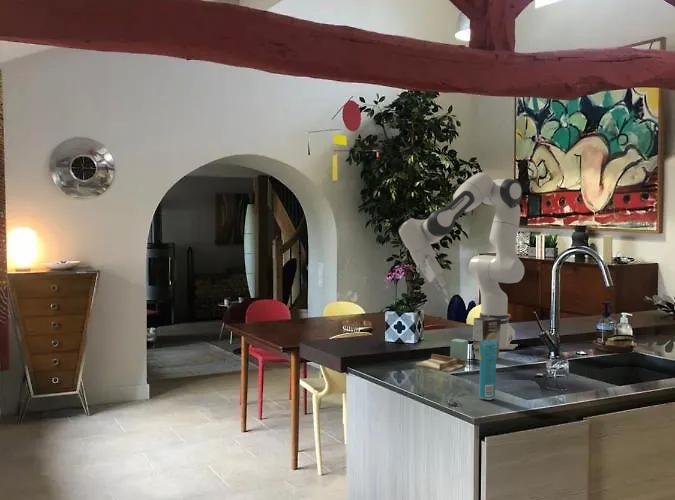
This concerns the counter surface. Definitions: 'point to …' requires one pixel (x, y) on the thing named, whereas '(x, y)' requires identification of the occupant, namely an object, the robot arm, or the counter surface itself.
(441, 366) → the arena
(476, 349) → the coffee box
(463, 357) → the block
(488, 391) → the tube
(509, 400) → the counter surface
